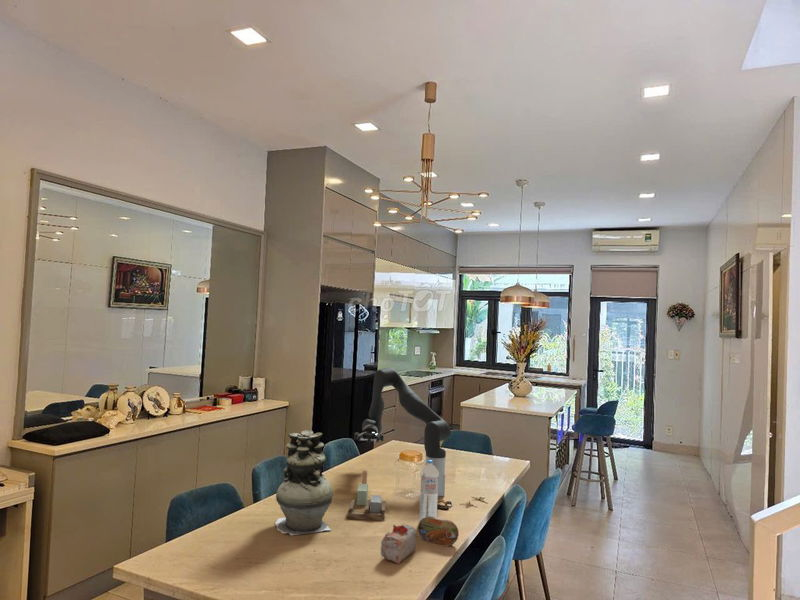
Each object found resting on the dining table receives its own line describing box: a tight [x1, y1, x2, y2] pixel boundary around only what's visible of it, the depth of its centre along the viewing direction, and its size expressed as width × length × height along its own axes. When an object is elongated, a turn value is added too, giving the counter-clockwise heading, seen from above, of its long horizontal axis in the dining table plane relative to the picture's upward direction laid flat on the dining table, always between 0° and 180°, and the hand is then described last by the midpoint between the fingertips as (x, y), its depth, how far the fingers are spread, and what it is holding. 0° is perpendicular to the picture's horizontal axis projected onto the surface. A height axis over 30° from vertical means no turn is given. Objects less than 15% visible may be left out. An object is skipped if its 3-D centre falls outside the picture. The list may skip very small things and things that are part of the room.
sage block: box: [356, 470, 369, 506], centre depth 233 cm, size 4×16×10 cm, turn 0°
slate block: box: [369, 494, 382, 514], centre depth 216 cm, size 4×9×6 cm, turn 0°
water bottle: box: [418, 460, 439, 523], centre depth 206 cm, size 7×7×25 cm
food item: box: [380, 524, 417, 565], centre depth 178 cm, size 14×8×10 cm, turn 153°
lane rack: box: [348, 498, 386, 521], centre depth 215 cm, size 14×12×4 cm
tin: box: [417, 517, 460, 547], centre depth 190 cm, size 15×3×8 cm, turn 62°
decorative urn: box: [274, 429, 334, 536], centre depth 200 cm, size 21×21×35 cm
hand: (368, 439), depth 252 cm, fingers open, 8 cm apart
